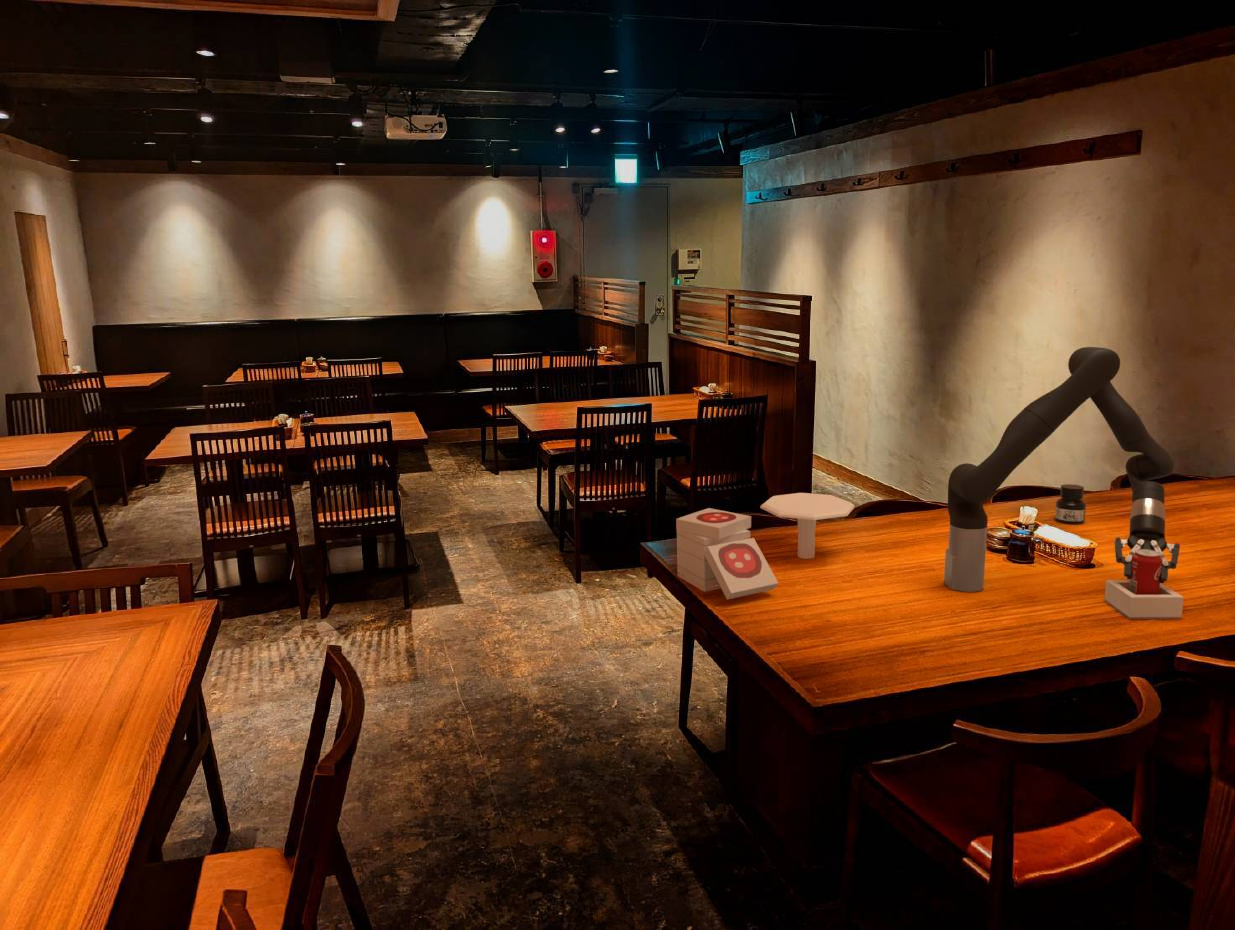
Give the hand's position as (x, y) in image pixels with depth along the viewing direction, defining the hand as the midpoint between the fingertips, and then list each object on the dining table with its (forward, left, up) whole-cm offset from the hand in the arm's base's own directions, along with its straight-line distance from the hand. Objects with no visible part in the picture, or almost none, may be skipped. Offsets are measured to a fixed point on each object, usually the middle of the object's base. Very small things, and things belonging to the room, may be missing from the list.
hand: (1145, 579), depth 206 cm
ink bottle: (+19, +80, -9) cm, 83 cm away
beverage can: (+1, +2, -6) cm, 6 cm away
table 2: (-74, +45, -9) cm, 88 cm away
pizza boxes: (-101, +21, -9) cm, 103 cm away
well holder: (+1, +1, -8) cm, 8 cm away
